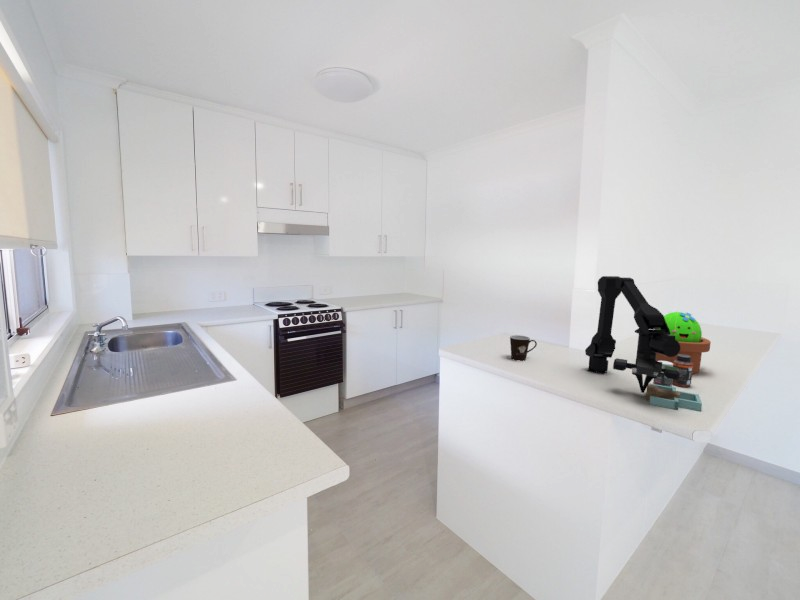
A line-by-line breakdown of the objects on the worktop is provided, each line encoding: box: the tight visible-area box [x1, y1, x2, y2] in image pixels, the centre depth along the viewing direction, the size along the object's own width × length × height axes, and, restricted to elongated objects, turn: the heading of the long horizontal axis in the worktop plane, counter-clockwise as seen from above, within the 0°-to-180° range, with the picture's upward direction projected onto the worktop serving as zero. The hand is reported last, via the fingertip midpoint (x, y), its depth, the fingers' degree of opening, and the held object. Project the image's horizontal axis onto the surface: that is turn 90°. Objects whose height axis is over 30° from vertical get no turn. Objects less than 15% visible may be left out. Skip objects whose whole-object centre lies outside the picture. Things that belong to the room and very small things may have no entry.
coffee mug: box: [509, 334, 538, 362], centre depth 169 cm, size 12×9×10 cm
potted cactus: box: [656, 311, 711, 375], centre depth 158 cm, size 22×22×25 cm
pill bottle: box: [652, 361, 673, 387], centre depth 134 cm, size 6×6×10 cm
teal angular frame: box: [649, 382, 703, 412], centre depth 123 cm, size 14×15×2 cm
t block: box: [645, 383, 680, 402], centre depth 125 cm, size 9×9×3 cm
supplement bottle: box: [672, 354, 693, 388], centre depth 138 cm, size 6×6×11 cm
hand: (642, 392), depth 128 cm, fingers closed
